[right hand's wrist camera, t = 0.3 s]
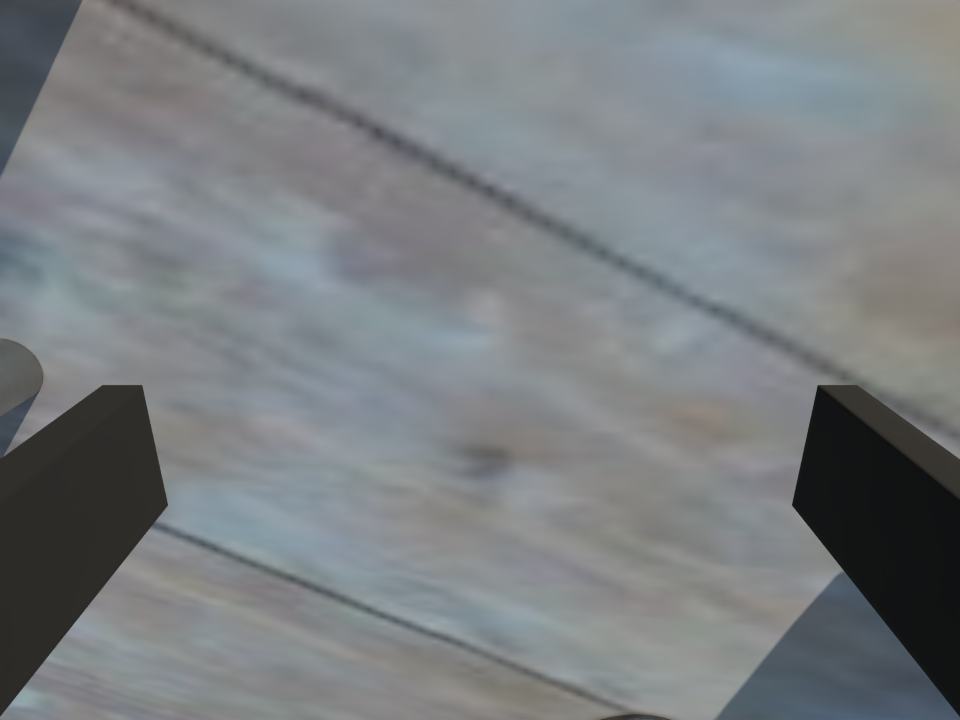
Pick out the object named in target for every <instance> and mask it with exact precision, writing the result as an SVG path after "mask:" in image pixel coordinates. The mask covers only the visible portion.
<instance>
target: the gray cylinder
mask: <svg viewBox="0 0 960 720" xmlns="http://www.w3.org/2000/svg"><path fill="white" fill-rule="evenodd" d="M42 382H43V372H42V368H41V366H40V363H39V362H38V360H37V359H36V357H35V356H34V355H33V354H32V353H31V352H30V351H29V350H28V349H27V348H25V347H24V346H22V345H21V344H19V343H17V342H14V341H11V340H6V339H0V417H1V416H2V415H4V414H6V413H7V412H9V411H10V410H12V409H13V408H15V407H17V406H18V405H20V404H21V403H23V402H24V401H26V400H28V399H29V398H31V397H32V396H34V395H35V394H36V393H37V392H38V391H39V390H40V388H41V386H42Z"/></svg>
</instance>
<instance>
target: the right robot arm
mask: <svg viewBox="0 0 960 720" xmlns="http://www.w3.org/2000/svg"><path fill="white" fill-rule="evenodd" d="M167 506H168V503H167V498H166V494H165V489H164V484H163V480H162V475H161V471H160V466H159V461H158V457H157V452H156V447H155V443H154V438H153V433H152V429H151V424H150V419H149V415H148V410H147V406H146V401H145V396H144V392H143V387H142V385H102V386H101V387H100V388H98V389H97V390H95V391H94V392H93V393H91V394H90V395H88V396H87V397H86V398H84V399H83V400H82V401H80V402H79V403H77V404H76V405H75V406H73V407H72V408H71V409H69V410H68V411H66V412H65V413H64V414H62V415H61V416H59V417H58V418H57V419H55V420H54V421H53V422H51V423H50V424H48V425H47V426H46V427H44V428H43V429H41V430H40V431H39V432H37V433H36V434H35V435H33V436H32V437H30V438H29V439H28V440H26V441H25V442H24V443H22V444H21V445H19V446H18V447H17V448H15V449H14V450H12V451H11V452H10V453H8V454H7V455H6V456H4V457H3V458H1V459H0V716H1V715H2V714H3V712H4V711H5V710H6V709H7V707H8V706H9V705H10V704H11V702H12V701H13V700H14V699H15V697H16V696H17V695H18V693H19V692H20V691H21V690H22V688H23V687H24V686H25V685H26V683H27V682H28V681H29V680H30V678H31V677H32V676H33V675H34V673H35V672H36V671H37V670H38V668H39V667H40V666H41V665H42V663H43V662H44V661H45V659H46V658H47V657H48V656H49V654H50V653H51V652H52V651H53V649H54V648H55V647H56V646H57V644H58V643H59V642H60V641H61V639H62V638H63V637H64V636H65V634H66V633H67V632H68V631H69V629H70V628H71V627H72V625H73V624H74V623H75V622H76V620H77V619H78V618H79V617H80V615H81V614H82V613H83V612H84V610H85V609H86V608H87V607H88V605H89V604H90V603H91V602H92V600H93V599H94V598H95V597H96V595H97V594H98V593H99V591H100V590H101V589H102V588H103V586H104V585H105V584H106V583H107V581H108V580H109V579H110V578H111V576H112V575H113V574H114V573H115V571H116V570H117V569H118V568H119V566H120V565H121V564H122V563H123V561H124V560H125V559H126V557H127V556H128V555H129V554H130V552H131V551H132V550H133V549H134V547H135V546H136V545H137V544H138V542H139V541H140V540H141V539H142V537H143V536H144V535H145V534H146V532H147V531H148V530H149V529H150V527H151V526H152V525H153V523H154V522H155V521H156V520H157V518H158V517H159V516H160V515H161V513H162V512H163V511H164V510H165V508H166V507H167ZM792 506H793V507H794V508H795V510H796V511H797V512H798V513H799V515H800V516H801V517H802V518H803V520H804V521H805V522H806V523H807V525H808V526H809V527H810V529H811V530H812V531H813V532H814V534H815V535H816V536H817V537H818V539H819V540H820V541H821V542H822V544H823V545H824V546H825V547H826V549H827V550H828V551H829V552H830V554H831V555H832V556H833V557H834V559H835V560H836V561H837V563H838V564H839V565H840V566H841V568H842V569H843V570H844V571H845V573H846V574H847V575H848V576H849V578H850V579H851V580H852V581H853V583H854V584H855V585H856V586H857V588H858V589H859V590H860V591H861V593H862V594H863V595H864V597H865V598H866V599H867V600H868V602H869V603H870V604H871V605H872V607H873V608H874V609H875V610H876V612H877V613H878V614H879V615H880V617H881V618H882V619H883V620H884V622H885V623H886V624H887V625H888V627H889V628H890V629H891V631H892V632H893V633H894V634H895V636H896V637H897V638H898V639H899V641H900V642H901V643H902V644H903V646H904V647H905V648H906V649H907V651H908V652H909V653H910V654H911V656H912V657H913V658H914V659H915V661H916V662H917V663H918V665H919V666H920V667H921V668H922V670H923V671H924V672H925V673H926V675H927V676H928V677H929V678H930V680H931V681H932V682H933V683H934V685H935V686H936V687H937V688H938V690H939V691H940V692H941V693H942V695H943V696H944V697H945V699H946V700H947V701H948V702H949V704H950V705H951V706H952V707H953V709H954V710H955V711H956V712H957V714H958V715H959V716H960V459H959V458H957V457H956V456H954V455H953V454H952V453H950V452H949V451H948V450H946V449H945V448H943V447H942V446H941V445H939V444H938V443H936V442H935V441H934V440H932V439H931V438H930V437H928V436H927V435H925V434H924V433H923V432H921V431H920V430H919V429H917V428H916V427H914V426H913V425H912V424H910V423H909V422H907V421H906V420H905V419H903V418H902V417H901V416H899V415H898V414H896V413H895V412H894V411H892V410H891V409H889V408H888V407H887V406H885V405H884V404H883V403H881V402H880V401H878V400H877V399H876V398H874V397H873V396H872V395H870V394H869V393H867V392H866V391H865V390H863V389H862V388H860V387H859V386H858V385H818V387H817V392H816V396H815V401H814V406H813V410H812V415H811V419H810V424H809V429H808V433H807V438H806V443H805V447H804V452H803V457H802V461H801V466H800V471H799V475H798V480H797V484H796V489H795V494H794V498H793V503H792ZM602 720H670V719H666V718H662V717H657V716H650V715H623V716H615V717H610V718H606V719H602Z"/></svg>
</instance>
